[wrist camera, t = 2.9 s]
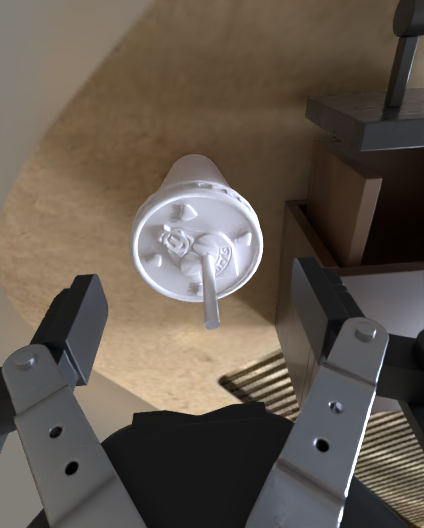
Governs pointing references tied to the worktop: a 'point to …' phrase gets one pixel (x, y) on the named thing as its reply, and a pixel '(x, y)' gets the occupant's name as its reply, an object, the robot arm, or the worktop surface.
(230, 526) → the robot arm
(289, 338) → the cabinet
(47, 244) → the worktop surface
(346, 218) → the drawer
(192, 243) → the smoothie
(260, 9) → the worktop surface
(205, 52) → the worktop surface
